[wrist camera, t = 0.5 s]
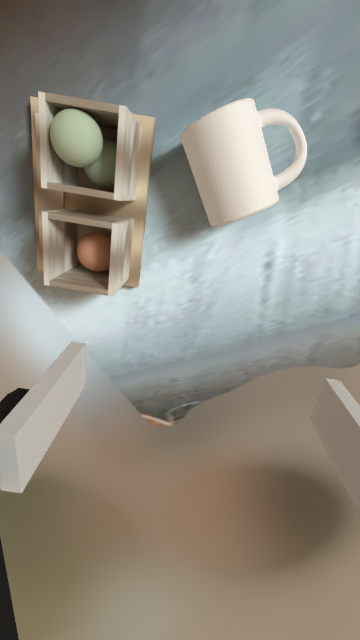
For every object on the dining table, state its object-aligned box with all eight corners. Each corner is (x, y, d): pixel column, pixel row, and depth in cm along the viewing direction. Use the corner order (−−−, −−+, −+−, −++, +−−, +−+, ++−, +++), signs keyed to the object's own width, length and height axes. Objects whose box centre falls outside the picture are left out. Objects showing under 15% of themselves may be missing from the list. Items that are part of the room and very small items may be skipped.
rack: (35, 99, 34) (-19, 66, 25) (155, 120, 34) (141, 93, 25) (41, 269, 41) (1, 287, 33) (138, 285, 41) (123, 307, 33)
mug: (209, 224, 38) (212, 230, 31) (181, 142, 34) (177, 127, 27) (302, 186, 36) (329, 183, 28) (282, 95, 32) (307, 64, 25)
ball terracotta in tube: (85, 227, 38) (70, 231, 33) (122, 233, 38) (112, 238, 33) (84, 263, 39) (70, 272, 35) (119, 269, 39) (109, 278, 35)
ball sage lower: (88, 137, 33) (77, 131, 29) (130, 144, 34) (125, 140, 30) (88, 182, 35) (77, 184, 31) (127, 189, 36) (122, 191, 32)
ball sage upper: (78, 129, 31) (42, 97, 26) (116, 128, 29) (84, 93, 25) (71, 175, 31) (34, 150, 27) (108, 176, 29) (74, 150, 25)
